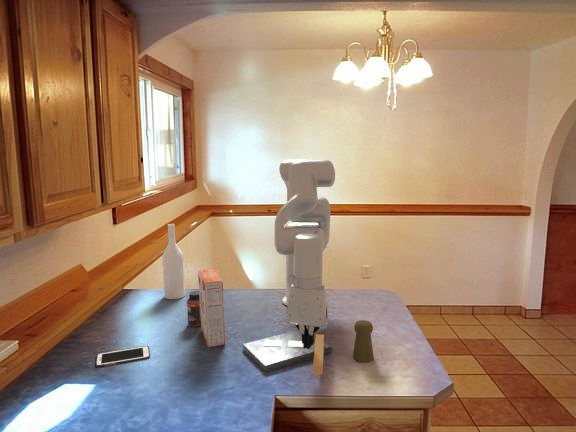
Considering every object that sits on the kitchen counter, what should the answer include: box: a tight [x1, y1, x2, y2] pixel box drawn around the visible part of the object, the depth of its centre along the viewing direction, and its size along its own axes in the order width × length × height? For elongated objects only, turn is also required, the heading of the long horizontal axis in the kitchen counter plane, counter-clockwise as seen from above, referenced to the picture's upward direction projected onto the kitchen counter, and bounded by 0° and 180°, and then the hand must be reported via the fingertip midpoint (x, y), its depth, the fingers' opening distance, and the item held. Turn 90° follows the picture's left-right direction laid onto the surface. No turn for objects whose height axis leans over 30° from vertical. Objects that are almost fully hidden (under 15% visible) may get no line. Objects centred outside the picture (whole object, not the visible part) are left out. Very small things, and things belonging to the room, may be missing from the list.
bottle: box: [162, 223, 186, 300], centre depth 175 cm, size 8×8×30 cm
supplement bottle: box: [186, 290, 201, 328], centre depth 149 cm, size 6×6×11 cm
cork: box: [352, 319, 375, 364], centre depth 124 cm, size 6×6×11 cm
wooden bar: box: [312, 329, 327, 376], centre depth 119 cm, size 22×3×3 cm, turn 174°
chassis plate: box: [242, 329, 333, 373], centre depth 129 cm, size 22×15×4 cm
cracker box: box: [197, 268, 226, 348], centre depth 137 cm, size 14×6×21 cm, turn 19°
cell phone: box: [95, 345, 151, 368], centre depth 127 cm, size 8×15×1 cm, turn 111°
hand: (307, 346), depth 116 cm, fingers closed
